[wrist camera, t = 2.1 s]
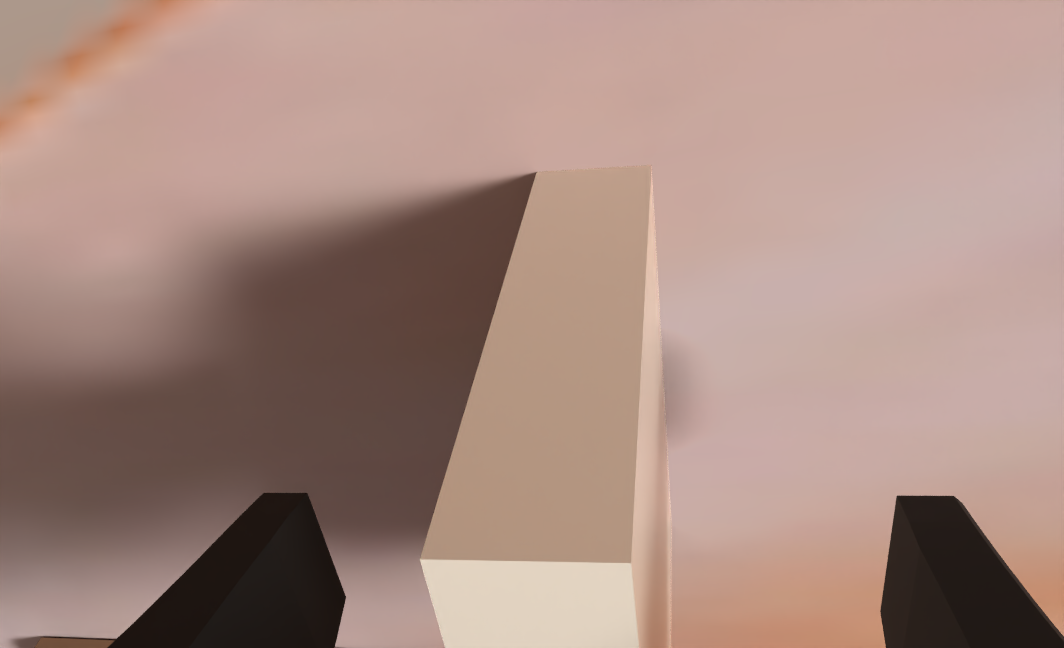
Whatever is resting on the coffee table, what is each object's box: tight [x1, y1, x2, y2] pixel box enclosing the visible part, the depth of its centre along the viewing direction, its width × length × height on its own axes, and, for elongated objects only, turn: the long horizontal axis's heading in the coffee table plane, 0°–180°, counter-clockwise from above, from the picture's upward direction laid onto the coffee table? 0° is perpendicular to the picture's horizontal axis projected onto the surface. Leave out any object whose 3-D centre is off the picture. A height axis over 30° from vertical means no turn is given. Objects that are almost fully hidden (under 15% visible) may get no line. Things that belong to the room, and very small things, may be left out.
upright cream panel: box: [420, 165, 671, 648], centre depth 11 cm, size 7×2×7 cm, turn 7°
